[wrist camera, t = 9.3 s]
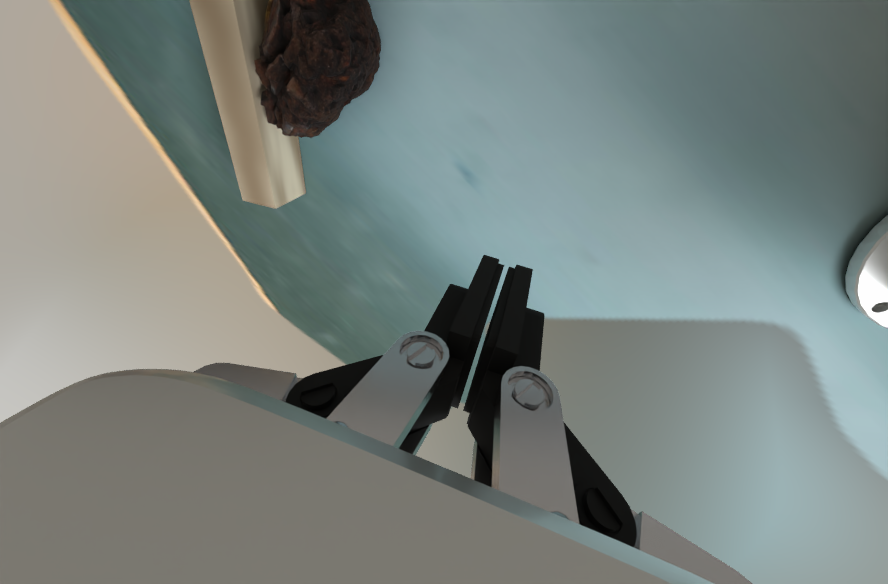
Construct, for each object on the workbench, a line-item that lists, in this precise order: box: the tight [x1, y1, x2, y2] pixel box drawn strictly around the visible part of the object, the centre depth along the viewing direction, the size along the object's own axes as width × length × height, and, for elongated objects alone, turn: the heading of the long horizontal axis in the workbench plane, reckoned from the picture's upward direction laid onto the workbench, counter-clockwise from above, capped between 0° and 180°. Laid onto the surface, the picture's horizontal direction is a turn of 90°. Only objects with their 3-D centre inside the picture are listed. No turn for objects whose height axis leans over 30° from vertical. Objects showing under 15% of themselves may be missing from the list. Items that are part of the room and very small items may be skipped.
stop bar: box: [189, 0, 306, 209], centre depth 21 cm, size 3×20×4 cm, turn 172°
